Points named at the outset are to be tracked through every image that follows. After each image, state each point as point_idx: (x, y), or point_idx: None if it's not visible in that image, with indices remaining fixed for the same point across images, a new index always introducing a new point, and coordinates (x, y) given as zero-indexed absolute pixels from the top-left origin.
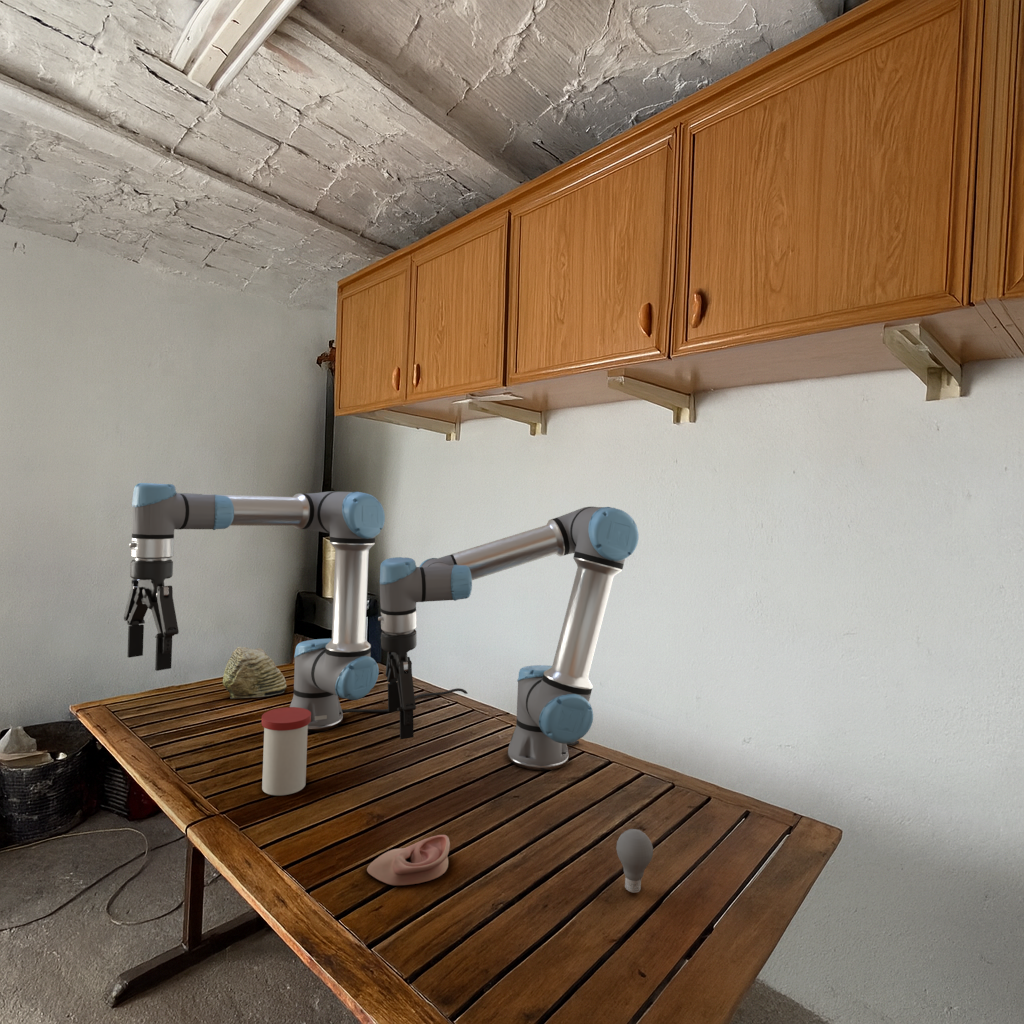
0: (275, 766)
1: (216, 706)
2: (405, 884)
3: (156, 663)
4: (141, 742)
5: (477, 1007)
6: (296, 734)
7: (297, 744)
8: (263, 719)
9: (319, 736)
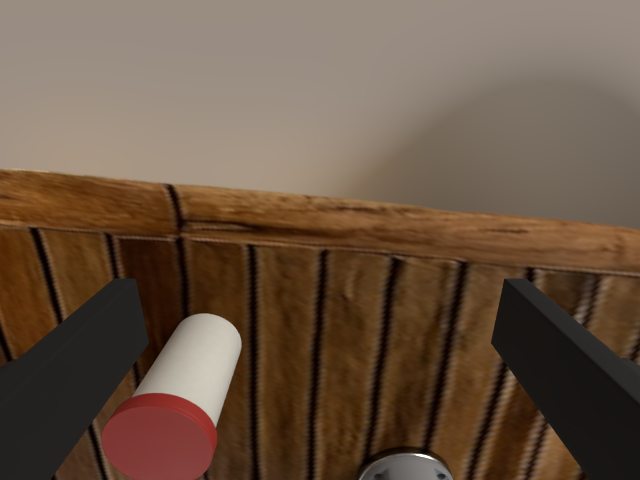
0: (166, 348)
1: None
2: None
3: (100, 299)
4: (572, 266)
5: None
6: None
7: None
8: (157, 407)
9: (345, 458)
